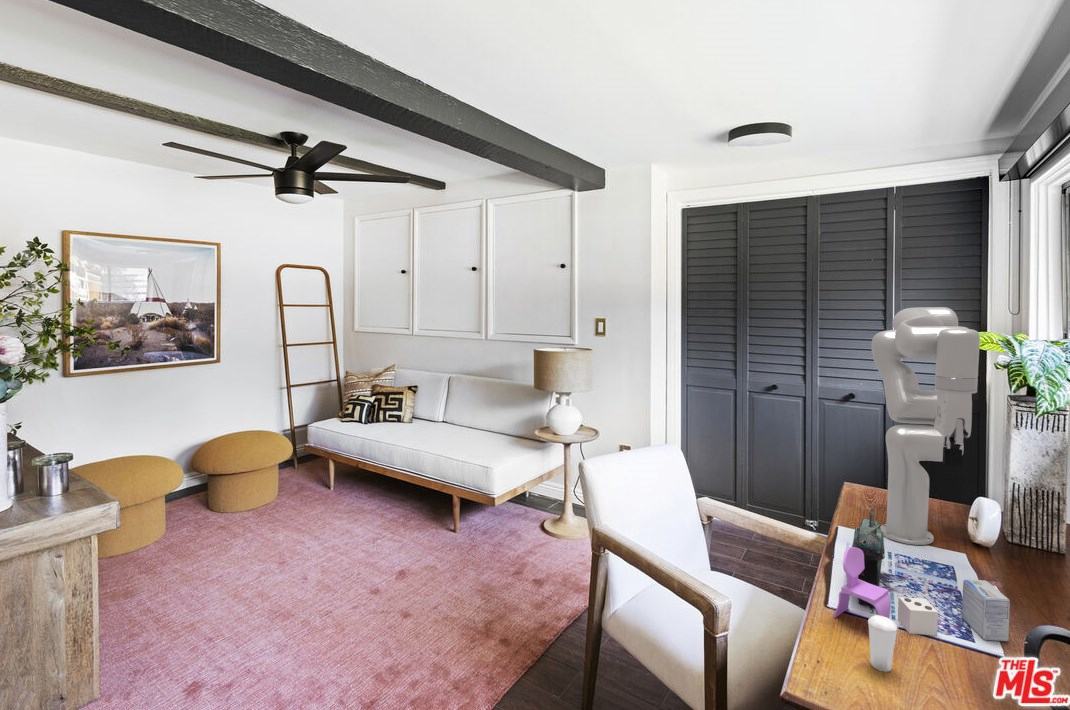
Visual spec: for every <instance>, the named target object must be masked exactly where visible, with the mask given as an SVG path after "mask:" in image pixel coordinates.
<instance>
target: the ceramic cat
mask: <svg viewBox="0 0 1070 710" xmlns="http://www.w3.org/2000/svg"><path fill="white" fill-rule="evenodd" d="M874 511H875V508H873V507H872V508H870V511H869V519H868V518H863V519H862V521H861V523H860V525H859V527H855V529H854V534H853V540H852V545H851V547H856V548H859V549H861V550H862V551H863V553H864V567H865V568H864V570H863V571H862V572H861V573H860V574H859V575H858V579H860V580H863V581H865V582H867V583H870V584H872V585H875V586H878V587H880V583H881V573H882V572H881V571H882V563H883V560H884V559H885V558H886V557H885V555H886V554H885V541H884V540H885V539H884V538H885V536H884V535H883V532H882V531H881V528H880V527H881V526H882V525H883V524H881V523H880V522H879V521H878V520H875V519H874V517H875V514H874ZM857 600H858V604H859V605H862V606H864V607H865V606H866V607H870V608H874V609H876V608H875V607H874V606H873V605H872V604H871V603H869V602H866V601H864V600H862V599H860V598H858V597H857Z"/></svg>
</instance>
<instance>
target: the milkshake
mask: <svg viewBox="0 0 1070 710" xmlns="http://www.w3.org/2000/svg"><path fill="white" fill-rule="evenodd" d="M899 623H900V622H899ZM901 623H902V622H901ZM901 623H900V624H898V626H897V624H896V623H895V622H894V621H893V620H892V619H890V617H889V618H887V617H883V616H880V615H878V614H876V615H872V616H871V617H869V618H868V620H867V625H868V626H867V627H868V637H869V654H870V665H871V666H872V668H874V669H876V670H878V671H880V672H884V673H887V672H891V671H892V666H893V665H892V664H893V657H894V650H895V643H896V639H897V633H898V629H899V628H900V625H902V624H901Z"/></svg>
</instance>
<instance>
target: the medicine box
mask: <svg viewBox="0 0 1070 710" xmlns="http://www.w3.org/2000/svg"><path fill="white" fill-rule="evenodd" d="M993 586H994V585H992V584H991V583H990V582H989V581H987V580H984V579H983V580H981V579H963V582H962V604H961V605H962V606H961V618H962V619H963V621H965V622H966V623H967V624H968V625H969V626H970V627H971V628H972V629H973V631H975V633H977V634H978V635H979V636H980V637H981V638H982V639H983V640H984V641H994V642H995V641H996V642H997V641H998V642H1009V636H1010V635H1009V634H1010V633H1009V632H1010V631H1009V629H1010V610H1011V609H1010V607H1011V606H1010V604H1011V602H1010V601H1011V600H1010V599H1009V597H1007V596H1006V595H1004V594H1003V593H1002V592H1001V591H1000V590H999V589H998V590H999V591H1000V592H999V591H998V590H997V589H996V588H995V587H993Z"/></svg>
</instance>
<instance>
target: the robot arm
mask: <svg viewBox="0 0 1070 710" xmlns="http://www.w3.org/2000/svg"><path fill="white" fill-rule="evenodd" d="M892 328H893V329H889V330H883V331H880V332H877V333H876V334H875V335H874V336H873V337H872V340H871V355H872V358H873V361H874V362H873V363H874V364H875V367H876V368H877V371H878V372H879V373H878V374H879V375H880V377H881V380H882V382H883V383H882V384H883V389H884V390H883V391H884V398H885V404H886V408H887V414H888V416H889V418H890V419H891V420H892V421H893V422H896V423H901V424H896V425H893V426H891V427H890V428H888V429H887V431H886V433H885V444H886V451H887V460H888V461H887V462H888V463H887V465H888V466H887V467H888V469H887V473H888V474H887V479H888V480H887V503H886V504H887V506H886V523H885V524H882V525H881V526H880V528H881V531H882V532H883V536H884V538H888V539H889V540H892V541H895V542H898V543H901V544H907V545H913V546H925V545H926V546H927V545H930V544H932V543H934V541H935V540H934V539H935V538H934V535H933V533H932V532H930V531H928V522H929V521H928V520H929V519H928V518H929V503H930V502H929V500H930V499H929V496H930V475H929V473H928V472H927V471H926V469H925V468H924V467H923V466H922V465H921V464H920V461H923V462H925V461H929V462H931V461H932V462H942V464H943V465H944V466H946V467H954V468H961V467H962V464H963V455H964V439H968V438H970V437H971V433H972V423H973V422H972V421H973V419H972V418H973V415H972V414H973V400H972V399H973V398H972V396H973V395H972V394H976V393H978V385H979V384H978V381H979V379H978V378H979V363H980V362H979V361H980V344H981V343H980V342H981V335H980V332H978V331H977V330H975V329H970V328H969V327H966V326H959V318H958V315H957V314H956V312H955V311H954V310H953V309H951V308H949V307H944V306H943V307H942V306H937V307H934V306H932V307H931V306H930V307H929V306H928V307H926V306H925V307H921V306H920V307H907V308H904V309H901V310H899V311H898V312H897V313H896V314H895V315H894V317H893V319H892ZM901 359H911V360H912V359H915V360H919V359H920V360H922V359H923V360H931V359H932V360H933V359H935V373H934V375H935V378H934V390H933V389H932V390H930V389H929V390H928V389H927V390H926V389H925V390H924V389H921V388H920V385H919V381H918V380H919V379H918V375H917V374H916V373H915V371H914V370H913V369H912V368H910V366H909V365H907V364H906V363H904V362H903V361H902V360H901Z"/></svg>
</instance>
